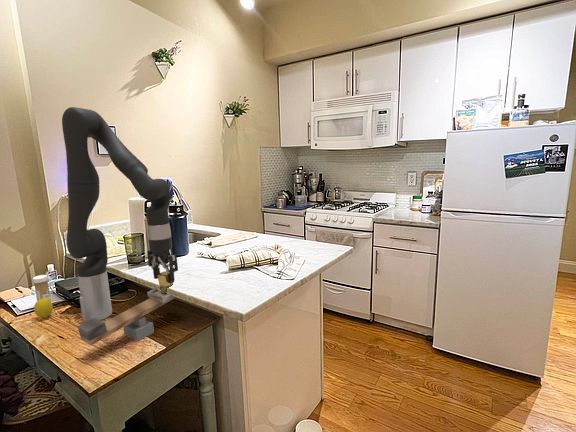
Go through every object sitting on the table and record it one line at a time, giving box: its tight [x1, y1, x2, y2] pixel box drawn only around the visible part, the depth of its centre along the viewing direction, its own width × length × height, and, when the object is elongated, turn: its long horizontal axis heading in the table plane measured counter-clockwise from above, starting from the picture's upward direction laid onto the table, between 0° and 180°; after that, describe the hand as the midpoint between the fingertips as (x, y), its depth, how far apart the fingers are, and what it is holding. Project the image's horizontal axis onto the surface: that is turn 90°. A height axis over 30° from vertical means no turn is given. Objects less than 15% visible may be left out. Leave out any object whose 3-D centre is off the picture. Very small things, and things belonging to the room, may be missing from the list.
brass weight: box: [157, 270, 174, 295], centre depth 112 cm, size 4×4×7 cm
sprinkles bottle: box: [32, 274, 52, 302], centre depth 124 cm, size 5×5×13 cm
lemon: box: [33, 298, 54, 319], centre depth 116 cm, size 6×6×8 cm
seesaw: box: [77, 287, 176, 346], centre depth 103 cm, size 33×9×4 cm, turn 146°
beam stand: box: [122, 315, 155, 342], centre depth 105 cm, size 6×8×6 cm
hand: (164, 280), depth 112 cm, fingers open, 8 cm apart
